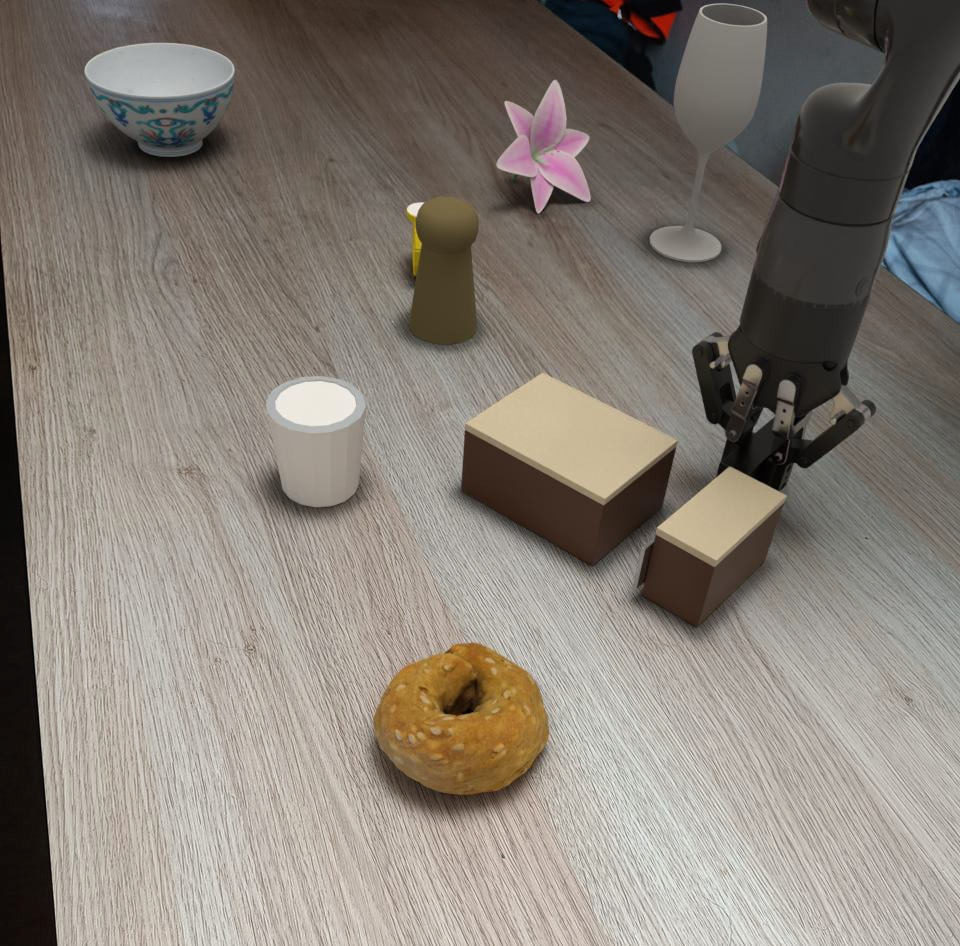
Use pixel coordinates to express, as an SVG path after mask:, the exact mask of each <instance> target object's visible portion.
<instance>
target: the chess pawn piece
mask: <svg viewBox="0 0 960 946" xmlns="http://www.w3.org/2000/svg"><path fill="white" fill-rule="evenodd" d="M422 203H423V204H422V206H421V207H420V208H419V210H418V213H417V217H416V221H415V228H416V232H417V236H418V238H419V240H420V241H421V243H422V245H421V251H420V258H419V264H418V270H417V276H416V277H415V282H414V290H413V295H412V302H411V308H410V315H409V319H408V327H409V330H410V332H411V333H412V334H413V335H414V336H415V337H417V338H419V339H420V340H422V341H425V342H428V343H431V344H438V345H454V344H458V343H462V342H466V341H468V340H469V339H471V338H473V337H474V336H475V334H476V333H477V330H478V319H477V307H476V306H477V305H476V293H475V292H476V291H475V280H474V269H473V268H474V267H473V255H472V254H473V252H472V245H473V244H474V243H475V242H476V240H477V237H478V234H479V229H480V219H479V215H478V214H477V211H476V209H475V208H474V206H473V205H472V204H471V203H470V202H468V201H466V200H465V199H461V198H459V197H454V196H438V197H433V198H429V199H428V200H426V201H424V202H422Z"/></svg>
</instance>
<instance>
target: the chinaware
mask: <svg viewBox="0 0 960 946" xmlns="http://www.w3.org/2000/svg"><path fill="white" fill-rule="evenodd" d="M235 70H236V69H235V66H234V64H233V62H232V61H231V60H230V59H229V58H228V57H226V56H225V55H223V54H221V53H220V52H217V51H215V50H212V49H209V48H206V47H202V46H197V45H193V44H185V43H174V42H148V43H147V42H146V43H145V42H144V43H136V44H128V45H123V46H118V47H115V48H112V49H108V50H105V51H103V52H100V53H99V54H97V55H95V56H94V57H92V58H91V59H89V61H88V62H86V65H85V67H84V76H85V79H86V81H87V84H88V87H89V89H90V91H91V93H92V97H93V98H94V100H95V101H96V104H97V105H98V107H99V108H100V110H101V111H102V113H103V114H104V115H105V117H106V118H107V119H108V120H109V121H110V122H111V124H113V125H114V127H116V128H117V129H118V130H119V131H121V132H122V133H123V134H125V135H126V136H127V137H128V138H131V140H134V141H136V142H137V144H138V147H139V148H140V150H142V151H143V152H144V153H146V154H149V155H151V156H156V157H163V158H178V157H185V156H188V155H191V154H193V153H196V152H197V151H199V150H200V149H201V148H202V146H203V139H205V138H206V137H207V136H208V135H210V134H211V133H212V132H213V131H214V130H215V129H216V128H217V127H218V125H219V124H220V123H221V121H223V118H224V117H225V115H226V112H227V110H228V108H229V106H230V103H231V99H232V96H233V91H234V84H235V74H236V73H235V72H236V71H235Z"/></svg>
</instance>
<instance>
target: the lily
mask: <svg viewBox="0 0 960 946" xmlns="http://www.w3.org/2000/svg"><path fill="white" fill-rule="evenodd" d="M563 95H564V94H563V91H562V88H561V85H560V82H558V80H557V79H554V80H552V81H551V83H550V84H549V86H548V88H547V89H546V91H545V94H544V96H543V98H542V99H541V101H540V103H539V105H538V107H537V109H536V111H535V112H534V115H533V114H532V113H531V112H530V111H528V110H527V109H525V108H524V107H522V106H520V105H519V104H516V103H514V102H512V101H509V100H505V101H504V107H505V109H506V112H507V115H508V117H509V119H510V122H511V124H512V126H513V129H514V131H515V133H516V136H517V137H516V138H515V139H514V141H512V143H511V144H510V145H509V146H508V147H507V148H506V149H505V151H503V153H501V155H500V157H498V160H497V161H496V166H495V167H497V169H498V170H501V171H503V172H506V173H510V174H514V176H512V178H511V180H512V181H513V182H515V180H516V179H517V177H518V176H524V177H528V178H529V179H530V180H529V181H530V186H531V192H532V198H533V202H534V203H533V204H534V208H535V212H536V213H537V214H540V213H541V212H543V210H544V209H545V207H546V205H547V204H548V202H549V200H550V197H551V195H552V193H553V190H554V187H556V188H558V189H560V190H562V191H564V192H565V193H568V194H570V195H571V196H573V197H575V198H577V199H579V200H581V201H583V202H585V203H589V202H591V199H592V196H591V193H590V187H589V185H588V181H587V178H586V176H585V174H584V171H583V169H582V167H581V165H580V163H579V162H578V160H577V159H576V156H578V155H579V154H580V153H581V152H582V150H584V149H585V147H586V146H587V144H588V143H589V141H590V135H589V134H588V133H586V132H583V131H580V130H577V129H573V128H567V122H568V121H567V111H566V104H565V98H564V96H563Z"/></svg>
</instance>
